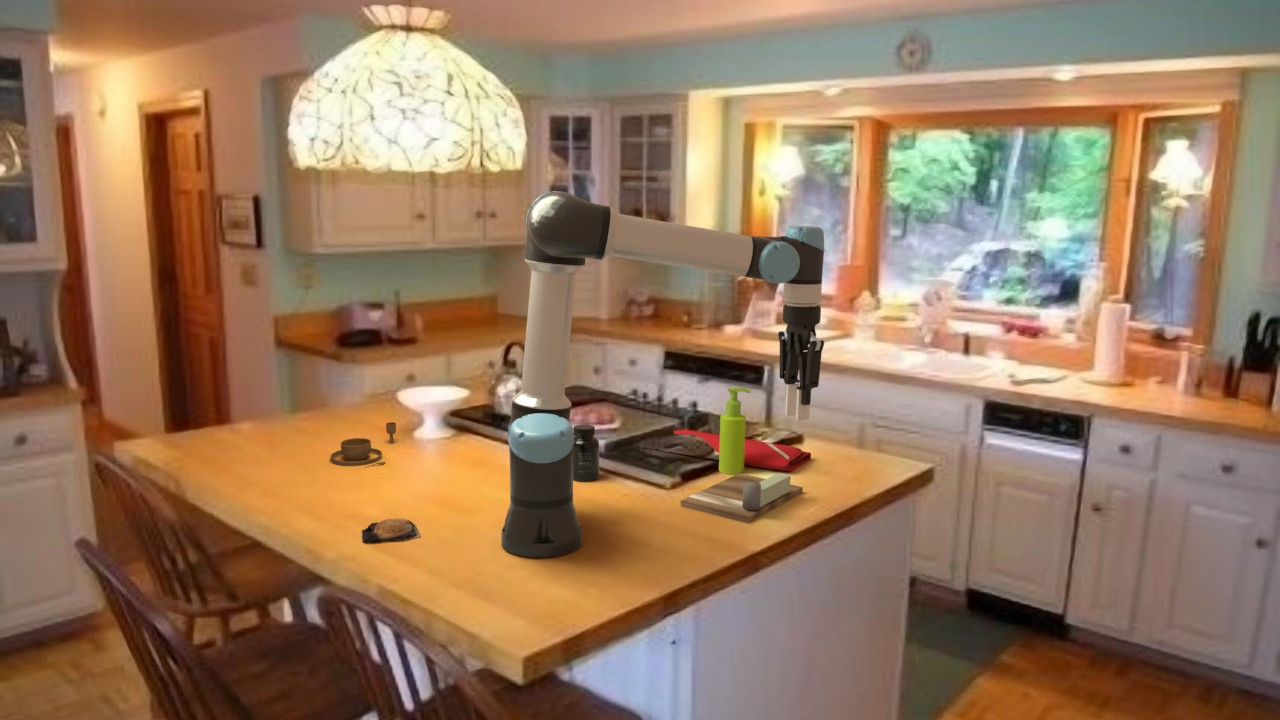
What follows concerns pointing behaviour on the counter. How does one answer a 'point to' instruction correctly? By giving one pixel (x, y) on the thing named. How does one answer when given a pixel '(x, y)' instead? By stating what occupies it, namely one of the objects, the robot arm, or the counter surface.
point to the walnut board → (733, 499)
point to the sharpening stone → (765, 491)
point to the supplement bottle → (585, 453)
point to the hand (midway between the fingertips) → (796, 417)
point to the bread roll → (390, 531)
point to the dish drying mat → (761, 452)
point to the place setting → (361, 450)
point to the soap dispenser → (732, 435)
